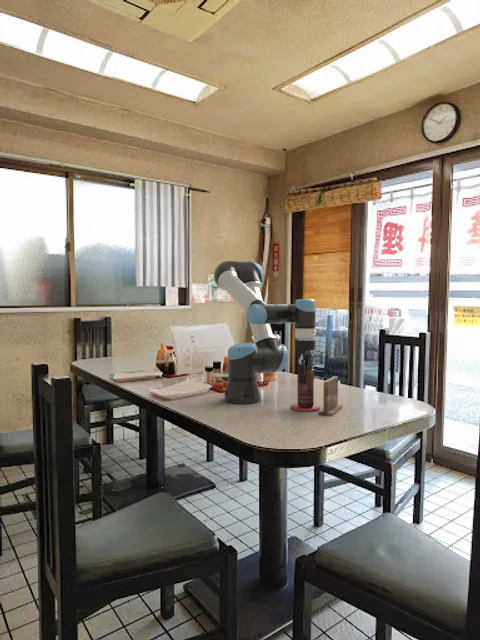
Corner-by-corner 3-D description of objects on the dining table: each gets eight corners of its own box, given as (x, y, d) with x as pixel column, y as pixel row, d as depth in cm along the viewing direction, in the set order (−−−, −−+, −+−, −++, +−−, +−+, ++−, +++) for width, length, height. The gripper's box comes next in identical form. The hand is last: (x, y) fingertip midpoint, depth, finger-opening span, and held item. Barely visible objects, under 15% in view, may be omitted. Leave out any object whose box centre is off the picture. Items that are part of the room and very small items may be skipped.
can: (314, 408, 167) (314, 370, 167) (297, 407, 168) (297, 370, 168) (314, 405, 173) (314, 369, 173) (298, 404, 174) (298, 368, 174)
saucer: (286, 409, 169) (286, 408, 169) (296, 403, 178) (296, 402, 178) (314, 412, 164) (314, 411, 164) (323, 406, 173) (323, 405, 173)
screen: (318, 414, 161) (318, 381, 161) (329, 406, 174) (329, 375, 173) (332, 416, 159) (332, 382, 159) (342, 407, 171) (342, 376, 171)
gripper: (309, 341, 162) (309, 405, 163) (320, 338, 174) (319, 398, 175) (290, 340, 166) (290, 403, 167) (301, 337, 177) (301, 396, 178)
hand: (305, 400), depth 171 cm, fingers closed
